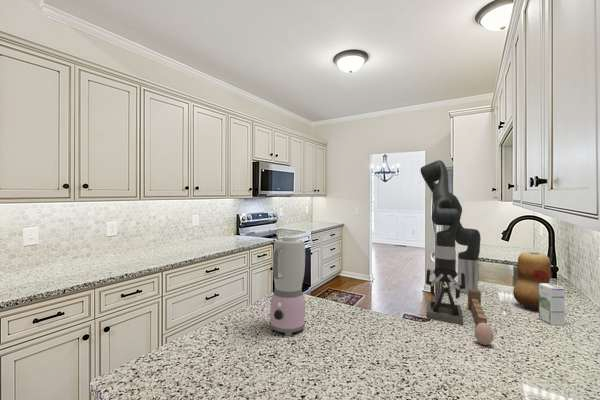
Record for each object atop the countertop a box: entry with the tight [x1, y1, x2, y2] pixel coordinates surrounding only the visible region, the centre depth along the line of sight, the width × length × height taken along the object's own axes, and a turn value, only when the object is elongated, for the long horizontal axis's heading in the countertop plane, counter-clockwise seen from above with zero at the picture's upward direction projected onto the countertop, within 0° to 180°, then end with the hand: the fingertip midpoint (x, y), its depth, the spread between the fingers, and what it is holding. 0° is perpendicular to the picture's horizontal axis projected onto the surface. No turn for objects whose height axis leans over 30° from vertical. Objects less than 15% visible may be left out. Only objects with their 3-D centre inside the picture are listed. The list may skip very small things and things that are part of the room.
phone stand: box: [433, 282, 458, 316], centre depth 116 cm, size 9×6×12 cm, turn 65°
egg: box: [474, 323, 494, 346], centre depth 92 cm, size 5×5×7 cm
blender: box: [269, 235, 306, 337], centre depth 99 cm, size 16×12×32 cm
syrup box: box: [538, 282, 566, 326], centre depth 112 cm, size 6×6×14 cm
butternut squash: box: [512, 251, 552, 310], centre depth 127 cm, size 14×13×25 cm
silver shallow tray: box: [426, 299, 464, 326], centre depth 117 cm, size 15×12×3 cm
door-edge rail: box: [467, 289, 488, 326], centre depth 113 cm, size 28×4×8 cm, turn 154°
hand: (444, 296), depth 117 cm, fingers open, 8 cm apart
